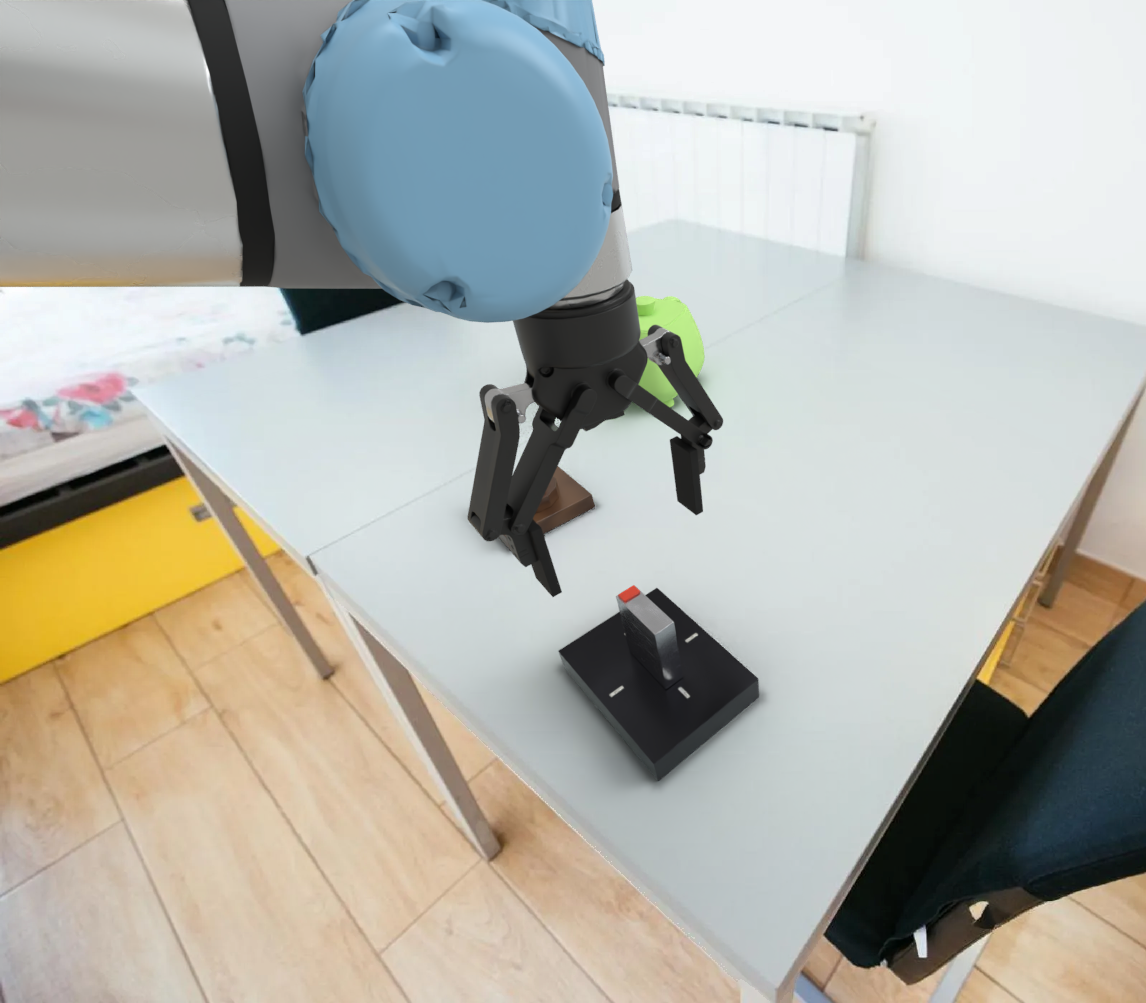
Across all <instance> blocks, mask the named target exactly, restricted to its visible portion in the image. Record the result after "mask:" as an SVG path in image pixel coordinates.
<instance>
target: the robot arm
mask: <svg viewBox="0 0 1146 1003" xmlns="http://www.w3.org/2000/svg"><path fill="white" fill-rule="evenodd" d="M593 3H594V2H593V0H0V288H195V287H196V288H224V287H225V288H226V287H227V288H235V287H236V288H239V287H242V288H243V287H247V288H248V287H249V288H250V287H251V288H255V287H256V288H258V287H260V288H262V287H263V288H264V287H265V288H277V289H327V290H329V289H331V290H332V289H333V290H334V289H337V290H339V289H341V290H342V289H349V290H351V289H353V290H355V289H357V290H358V289H364V290H365V289H369V290H371V289H372V290H373V289H382V290H383V291H384V292H386V293H387V294H389V295H391V296H392V297H394V298H396V299H397V300H399V301H402V302H404V303H406V304H408V305H411V306H415V307H419V308H423V309H428V310H430V311H432V312H435V313H441V314H445V315H447V316H450V317H453V318H455V319H459V320H462V321H467V322H471V323H473V322H475V323H484V324H485V323H486V324H489V323H490V324H491V323H506V322H507V323H508V322H512V323H513V327H514V330H515V333H516V338H517V341H518V344H519V348H520V352H521V355H522V357H523V360H524V363H525V367H526V368H525V370H526V373H525V377H524V382H522V383H520V384H515V385H512V386H508V387H504V388H503V387H502V388H499V387H497V385H495V384H492V383H488V384H485V385H483V386H482V387H481V388H480V390H479V393H478V394H479V395H478V396H479V400H480V405H481V406H480V407H481V410H482V414H483V420H484V423H483V426H482V433H481V438H480V445H479V449H478V455H477V461H476V466H475V472H474V478H473V482H472V483H473V484H472V490H471V496H470V499H469V501H470V502H469V506H468V512H467V521H468V522H469V524H470V525H471V526H472V527H473V528H474V530H475V531H476V532H477V533H478V534H479V535H480V537H481V539H483V540H484V541H486V542H493V541H495V540H497V539H498V538H499V536H500V535H506V538H507V540H508V543H509V546H510V549H511V550H510V549H509V550H510V551H511V554H512V555H513V557H515V559H516V560H517V561H518V562H519V563H520V564H521V565H522V566H524V568H527V567H529V566H531V568H532V571H533V574H534V576H535V579H536V580H537V581H538V583H539V584H541V586H542V587H543V588H544V589H545V590H546V591H547V593H548V594H550V596H551V597H552V598H555V597H556V596H558V595H560V594H562V593H563V591H562V588H561V585H560V582H559V578H558V575H557V572H556V569H555V566H554V563H553V559H552V557H551V553H550V550H549V547H548V544H547V541H546V537H545V534H543V531H542V528H541V527H540V526H539V525H538V524H537V523H536V522H535V521H534V520H533V517H534V515H535V513H536V511H537V509H538V507H539V505H540V502H541V500H542V498H543V496H544V494H545V492H546V490H547V487H548V485H549V483H550V481H551V479H552V477H553V475H554V473H555V470H556V468H557V466H558V467H559V464H560V462H561V460H562V458H563V455H564V453H565V451H566V450H568V449H570V448H572V446H573V445H574V443H575V441H576V439H577V437H578V435H579V432H580V430H583V431H584V432H589V431H590V430H593V429H595V428H598V426H600V425H601V424H602V423H604V422H605V421H610V420H611V421H612V420H616V419H618V418H620V417H623V416H625V415H626V413H625V411H626V410H628V408H629V407H630V405H631V404H635V405H636V406H637V407H639V408H640V409H641V410H643V411H644V412H646V413H647V414H649V415H650V416H652V417H654V418H655V419H657V420H658V421H659V422H661V423H662V424H664V425H665V426H667V427H668V428H670V429H671V430H672V431H675V432H676V433H678V435H680V437H679V436H678V435H676V436H674V437H671V438H670V439H669V445H670V453H671V454H670V455H671V460H672V461H671V462H672V468H673V478H674V484H675V485H674V486H675V492H676V500H677V501H676V502H678V503H679V504H681V505H682V506H683V507H684V508H686V509H687V510H688V511H690V513H692V514H694V515H695V516H698V515H700V514H702V513H704V506H703V496H702V494H703V493H702V484H701V475H702V474H704V473H705V471H706V457H705V456H706V455H705V451H706V450H709V448H711V446H712V445H713V441H714V440H713V437H712V436H711V435H710V434H709V433H710V432H712V430H713V431H718V430H720V429H721V428H722V427H723V425H724V418H723V416H722V415H721V413H720V411H719V410H718V409H717V407H716V405H715V404H714V402H713V401H712V400H711V398H710V396H709V395H708V393H707V392H706V390H705V388H704V387H703V385H702V384H701V382H700V381H699V379H698V377H697V378H696V376H695V375H694V373H693V371H692V370H691V368H690V367H689V365H688V364H687V362H686V361H685V356H684V351H683V346H682V341H681V338H680V337H679V336H678V335H677V334H675V333H673V332H670V331H668V330H666V329H664V328H663V327H661V326H659V325H652V326H651V327H650V328H649V330H648V336H647V337H645V338H643V339H641V340H639V339H640V334H641V331H640V324H639V317H638V310H637V303H636V298H637V297H636V291H635V290H636V289H635V286H634V284H633V283H632V282H631V281H630V280H629V278H630V275H631V274H632V272H633V264H632V259H631V252H630V247H629V241H628V234H627V229H626V228H627V227H626V220H625V216H624V209H623V203H622V198H621V193H620V182H619V175H618V167H617V159H616V153H615V147H614V146H615V145H614V139H613V132H612V124H611V117H610V116H611V115H610V109H609V102H608V93H607V88H606V86H607V85H606V79H605V72H604V67H605V62H606V61H605V54H604V52H603V50H602V46H601V41H600V36H599V30H598V26H597V20H596V14H595V8H594V4H593ZM648 358H649V360H650V361H652V362H654V363H656V364H657V365H658V367H659V368H660V369H661V371H662V372H663V374H664V375H665V377H666V378H667V379H668V381H669V382H670V384H671V385H672V387H673V388H674V389H675V391H676V392H677V394H678V396H679V398H680V399H681V401H682V402H683V404H684V405H685V406H686V408H687V409H688V411H689V412H690V414H691V415H692V416H691V417H690V418H689V419H687V418H685V417H684V416H682V415H681V414H680V413H678V412H677V411H676V410H674V409H673V408H672V407H668V406H667V405H666V404H664V403H663V402H661V401H660V400H659V399H658V398H656V397H655V396H654V395H652V394H651V393H649V392H648V391H647V390H645V389H644V388H642V387H641V386H640V385H639V382H640V380H641V377H642V375H643V372H644V370H645V367H646V365H647V360H648ZM534 403H535V404H536V405H537V407H538V408H537V410H536V412H535V414H534V417H533V418H532V421H531V422H532V423H531V427H532V431H531V434H530V436H529V438H528V440H527V442H526V445H525V446H524V449H523V451H522V453H521V455H520V457H519V460H518V462H517V464H516V467H515V463H516V459H517V453H518V448H519V444H520V434H521V433H520V432H521V431H520V430H521V429H520V428H521V427H520V424H524V423H525V422H526V420H527V416H526V413H527V408H528V407H529V406H530V405H532V404H534ZM556 419H557V420H559V421H560V423H559V425H558V426H557V425H556Z"/></svg>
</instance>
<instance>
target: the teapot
mask: <svg viewBox="0 0 1146 1003" xmlns="http://www.w3.org/2000/svg"><path fill="white" fill-rule="evenodd" d="M636 303H637V310H638V317H639V324H640V331H641V334H640V339H639V340H641V339H643V338H645V337H647V336H648V330H649V328H650V327H651V326H652V325H659V326H661V327H663V328H664V329H666V330H668V331H670V332H673V333H675V334H677V335H678V336H679V337H680V338H681V341H682V346H683V351H684V356H685V361H686V362H687V364H688V365H689V367H690V368H691V370H692V371H693V373H694V375H695V376H696V378H697V379H698V376H699V374H700V372H701V370H702V368H703V365H704V363H705V358H706V356H705V347H704V343H703V339H702V336H701V333H700V330H699V328H698V325H697V323H696V320H695V319H694V318H695V317H693V314H692V313H691V311H690V309H689V307H688V306H687V304H685V303H684V302H682V301H681V299H680V298H678V297H676V296H672V295H667V296H665V297H663V298H656V297H654V296H651V295H639V296H637V297H636ZM639 385H640V386H641V387H642V388H644V389H645V390H647V391H648V392H649V393H651V394H652V395H654V396H655V397H656V398H658V399H659V400H660V401H661V402H663V403H664V404H666V405H667V406H668V407H670V408H673V407H674V405H675V400H674V398H676V397H678V396H679V395H678V394H677V392H676V391H675V389H674V388H673V387H672V385H671V384H670V382H669V381H668V379H667V378H666V377H665V375H664V374H663V372H662V371H661V369H660V368H659V367H658V365H657V364H656V363H654V362H652V361H650V360H649V358H648V360H647V365H646V367H645V370H644V372H643V375H642V377H641V380H640V382H639Z"/></svg>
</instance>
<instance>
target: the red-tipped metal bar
mask: <svg viewBox="0 0 1146 1003" xmlns="http://www.w3.org/2000/svg"><path fill="white" fill-rule="evenodd" d="M645 595H646V594H645V593H644V592H642V590H641V589H639V588H638V587H637V586H636V585H635V584H633V585H631V586H630V587H628V588H626V589H625V590H623V591H621V592H619V593H618V594H617V595H616V596H615V598H616V602H617V607H618V610H619V611H618V612H620V615H621V619H622V623H623V627H624V631H625V635H626V639H627V644H628V648H629V651H630V653H631V654H632V655H633V656H634V657H635V658H636V659H637V660H638V661H639V662H640V663H641V664H642V665H643V666H644V667H645V668H646V669H647V670H648V671H649V672H650V673H651V674H652V676H653V677H654V678H655V679H656V680H657V681H658V682H659V683H660V684H661V685H662V686H663V687H664V688H665V689H668V688H669V687H670V686H672V685H673V684H674V683H676V682H677V681H678V680H680V679H681V678H682V677H683V674H682V668H681V662H680V656H679V650H678V644H677V638H676V632H675V625H674V622H673V621H672V620H671V619H670V618H669V617H668V616H667V615H666V614H665V613H664V612H663V611H662V610H661V609H659V608H658V607H657V606H656V605H655V604H654V603H653V602H652V601H651V600H650V599H649V598H648V597H647V596H645Z"/></svg>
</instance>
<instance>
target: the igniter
mask: <svg viewBox="0 0 1146 1003" xmlns="http://www.w3.org/2000/svg"><path fill="white" fill-rule="evenodd" d="M594 508H596V506H595V502H594V497H593V494H592V493H591V492H590V491H588V490H587V489H586V488H585V487H584V486H582V485H581V483H579V482H577V480H575V479H574V478H573V477H572V476H570V474H568V473H567V472H565V470H564V469H563V468H561V467H560V466H559V465H558V466H557V468H556V470H555V473H554V475H553V477H552V479H551V481H550V483H549V485H548V487H547V490H546V492H545V494H544V496H543V498H542V500H541V502H540V505H539V507H538V509H537V511H536V513H535V515H534V517H533V520H534V521H535V522H536V523H537V524H538V525H539V526H540V527H541V528H542V531H543V534H544V535H545V534H547V533H549V532H550V531H552V530H554V529H556V528H558V527H560V526H562V525H563V524H566V523H568V522H570V521H571V520H573V519H575V518H577V517H579V516H581V515H583V514H584V513H586V512H589V511H590V510H593V509H594ZM498 538H499V539H500V540H501V541H502V543H503V544H504V545H505V546H506V547H507V549H508V550H510V551H511V549H510V546H509V543H508V540H507V538H506V535H500V536H499V537H498Z"/></svg>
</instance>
